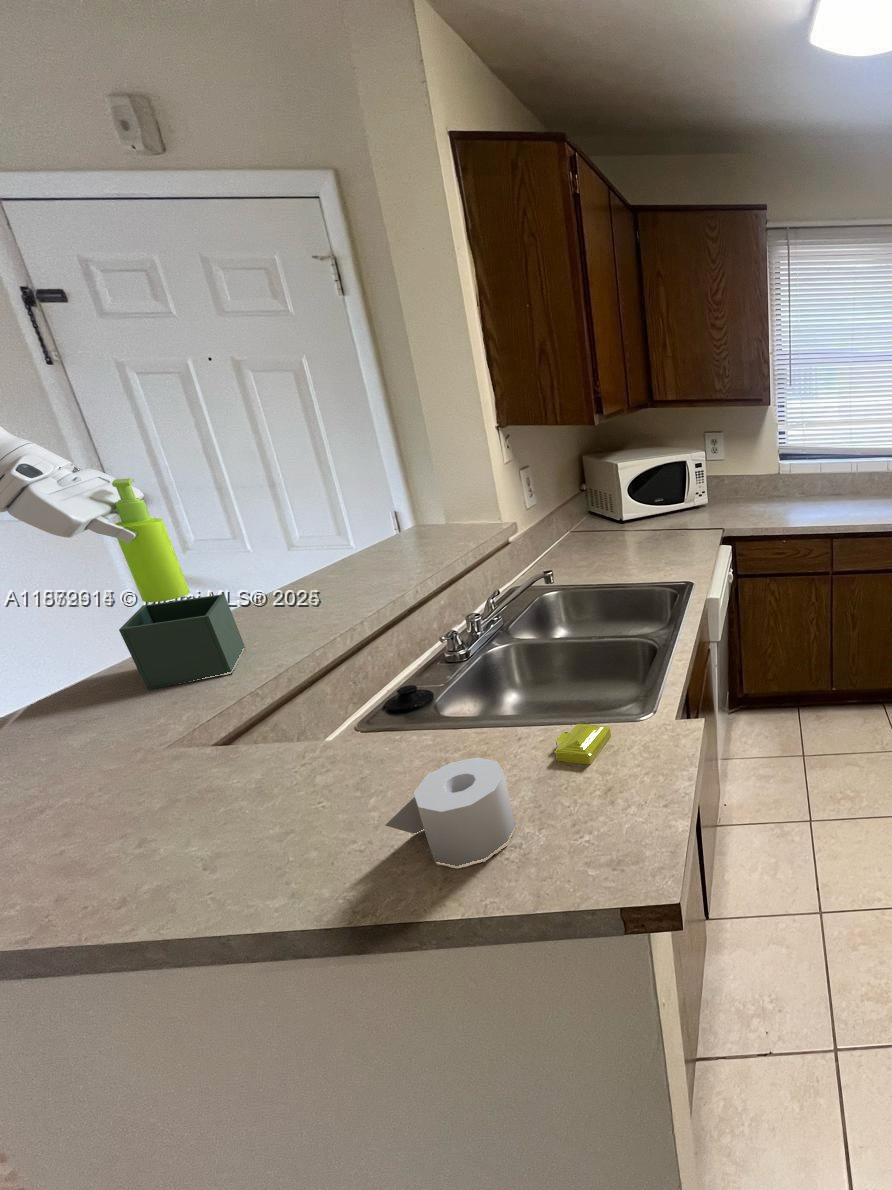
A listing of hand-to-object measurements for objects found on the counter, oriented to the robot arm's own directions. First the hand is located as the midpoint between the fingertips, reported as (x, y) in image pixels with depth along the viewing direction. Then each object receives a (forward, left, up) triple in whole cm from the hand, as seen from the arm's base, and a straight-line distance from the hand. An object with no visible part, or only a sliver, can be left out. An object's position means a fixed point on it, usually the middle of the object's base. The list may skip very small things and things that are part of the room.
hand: (145, 532), depth 101 cm
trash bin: (0, 0, -26) cm, 26 cm away
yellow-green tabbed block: (+55, -58, -26) cm, 84 cm away
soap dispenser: (-1, 0, -12) cm, 12 cm away
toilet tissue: (+39, -69, -26) cm, 83 cm away
